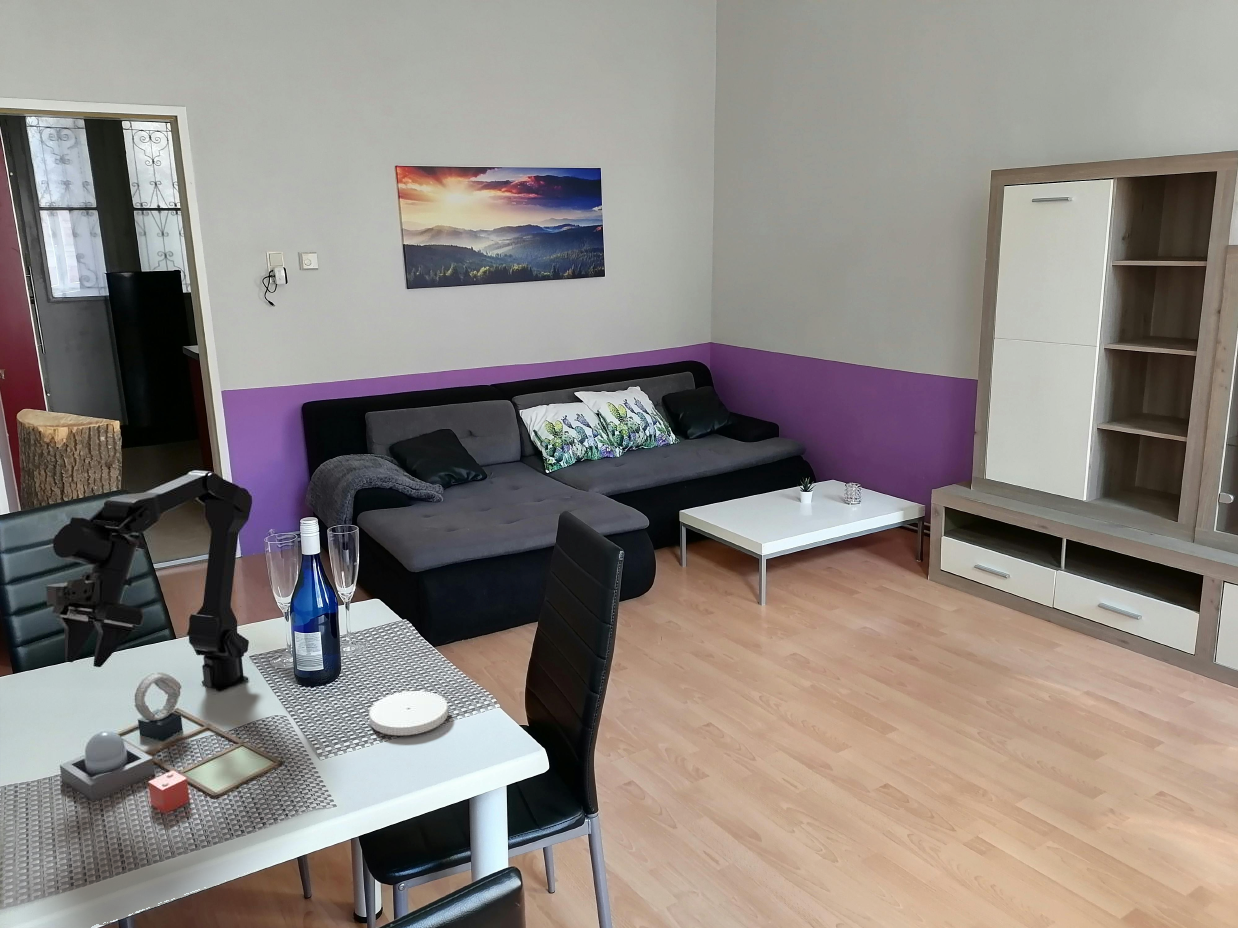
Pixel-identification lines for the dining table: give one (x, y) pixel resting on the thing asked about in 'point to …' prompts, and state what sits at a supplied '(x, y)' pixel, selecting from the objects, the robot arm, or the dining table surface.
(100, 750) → the dome button
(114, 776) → the dome frame
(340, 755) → the dining table surface
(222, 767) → the brown flat frame
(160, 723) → the watch
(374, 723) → the plastic lid
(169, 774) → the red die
